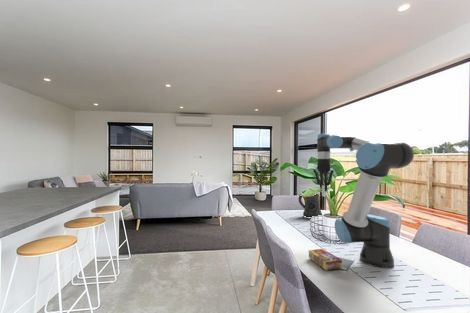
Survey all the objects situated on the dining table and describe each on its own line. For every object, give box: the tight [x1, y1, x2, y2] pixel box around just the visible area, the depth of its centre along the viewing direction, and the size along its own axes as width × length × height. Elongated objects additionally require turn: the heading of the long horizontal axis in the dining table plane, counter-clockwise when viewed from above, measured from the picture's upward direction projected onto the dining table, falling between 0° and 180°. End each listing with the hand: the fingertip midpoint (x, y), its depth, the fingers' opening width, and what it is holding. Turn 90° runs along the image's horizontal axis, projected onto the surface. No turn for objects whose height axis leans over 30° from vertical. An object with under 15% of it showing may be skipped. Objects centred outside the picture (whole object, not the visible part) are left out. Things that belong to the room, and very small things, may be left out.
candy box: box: [308, 248, 342, 271], centre depth 121 cm, size 9×4×15 cm
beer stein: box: [298, 193, 323, 217], centre depth 219 cm, size 16×19×25 cm
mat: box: [335, 255, 355, 272], centre depth 123 cm, size 14×14×1 cm
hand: (324, 196), depth 151 cm, fingers closed
